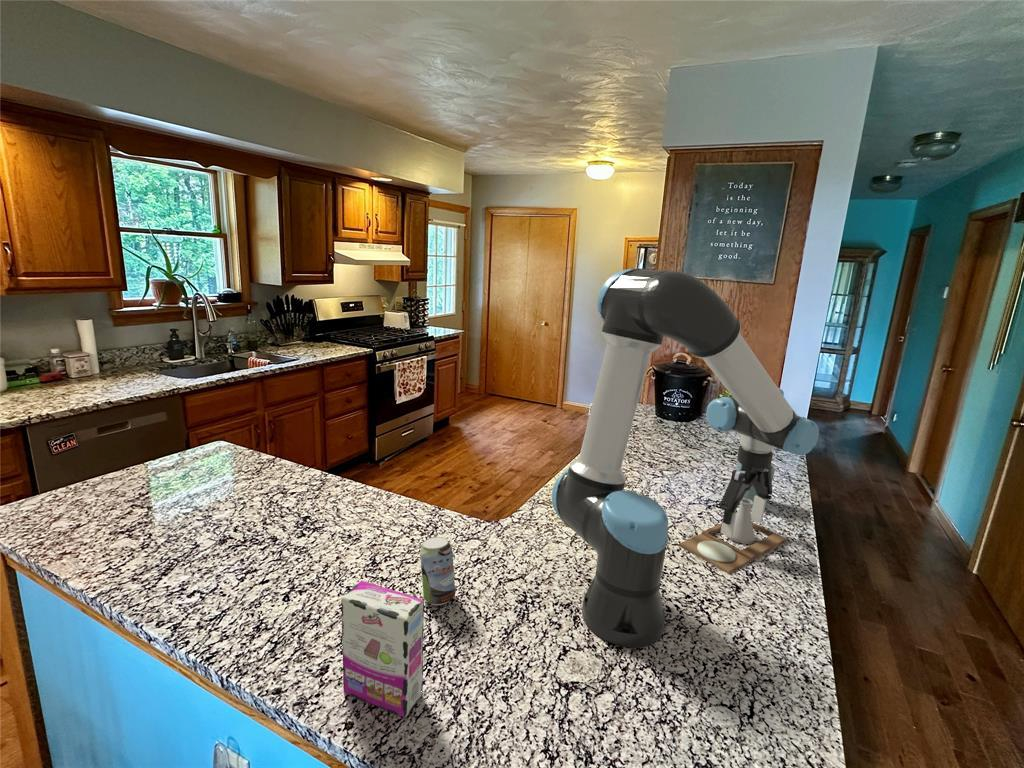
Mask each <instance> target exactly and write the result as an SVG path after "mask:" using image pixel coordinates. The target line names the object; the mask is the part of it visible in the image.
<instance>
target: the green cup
mask: <svg viewBox="0 0 1024 768" xmlns="http://www.w3.org/2000/svg"><path fill="white" fill-rule="evenodd" d="M741 467H742V465H741V463H740V462H739V461H738V460H737V459H736V469H735V470H736V471H740V469H741ZM775 472H776V466H775V465H774V464H773V463H771V480H772V481H773V479H774V475H775ZM767 489H768V488H767ZM754 496H758V495H757V493H756V491H755V488H754V485H753V486H751V488H750V490H747V491H746V493H745V494H744V496H743V498H745V499H749V500H751V501H753V502H754ZM767 503H768V499H766V504H765V507H766V506H767ZM739 505H740V503H739ZM752 507H753V506H751V509H752Z"/></svg>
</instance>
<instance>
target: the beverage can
mask: <svg viewBox="0 0 1024 768" xmlns="http://www.w3.org/2000/svg"><path fill="white" fill-rule="evenodd" d="M419 556H420V558H419V559H420V568H421V579H422V580H421V581H422V582H421V583H422V594H423V600H424V599H425V600H426V601H427V602H426V601H425V600H424V601H425V602H426V603H428V602H429V603H428V604H430V603H431V604H430V605H432V606H442V605H446V604H447V603H449V602H450V601H452V600H453V599H454V598H455V595H456V585H455V583H456V582H455V569H454V558H453V546H452V544H451V543H450V542H449V539H448V538H447V537H443V536H434V537H430V538H427V539H425V540H424V541H423V542H422V546H421V547H420V550H419Z"/></svg>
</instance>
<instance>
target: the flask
mask: <svg viewBox="0 0 1024 768" xmlns="http://www.w3.org/2000/svg"><path fill="white" fill-rule="evenodd" d="M751 506H753V501H751V500H749V499H745V498H742V500H741V501H740V504H739V508H738V510H737V511H736V512H737V514H736V520H735V525H734V531H733V536H732V537H731V538H730V537H728V536H726V537H727V538H728V539H729V540H730V541H734V542H736V543H740V544H745V545H747V544H748V545H749V544H750V545H753V544H755V543H756V542H755V541H756V536H755V535H756V534H755V531H754V530H755V529H754V528H753V525H752V522H753V520H751V512H752V508H751Z"/></svg>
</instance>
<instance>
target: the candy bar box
mask: <svg viewBox="0 0 1024 768" xmlns="http://www.w3.org/2000/svg"><path fill="white" fill-rule="evenodd" d="M340 601H341V632H342V633H341V637H342V638H341V640H342V641H341V642H342V643H341V644H342V674H343V675H342V677H343V678H342V681H343V684H342V685H343V687H342V688H343V693H345V694H346V695H349V696H350V697H353V698H356V699H358V700H361V701H363V702H365V703H368V704H371V705H374V706H376V707H379V708H380V709H383V710H385V711H388V712H390V713H392V714H395V715H396V716H397V715H398V716H399V717H402V718H405V719H406V718H407V717H408V715H409V714H410V713H411V712H412V710H413V708H414V707H415V705H416V704H417V703H418V702H419V700H420V698H421V697H422V696H423V689H424V688H423V684H424V683H423V682H424V681H423V680H424V679H423V678H424V677H423V676H424V675H423V674H424V630H425V629H424V626H425V625H424V624H425V623H424V621H425V614H424V613H425V600H424V598H423V599H422V598H420V597H416V596H413V595H410V594H406V593H403V592H400V591H397V590H393V589H391V588H389V587H388V588H387V587H384V586H381V585H378V584H374V583H371V582H368V581H366V580H360V581H359V582H358V583H357V584H355V586H353V587H352V588H351V589H350V590H349V591H348V592H346V593H345V594H344V595H343V596H342V597H341V598H340ZM421 691H422V692H421Z"/></svg>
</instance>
